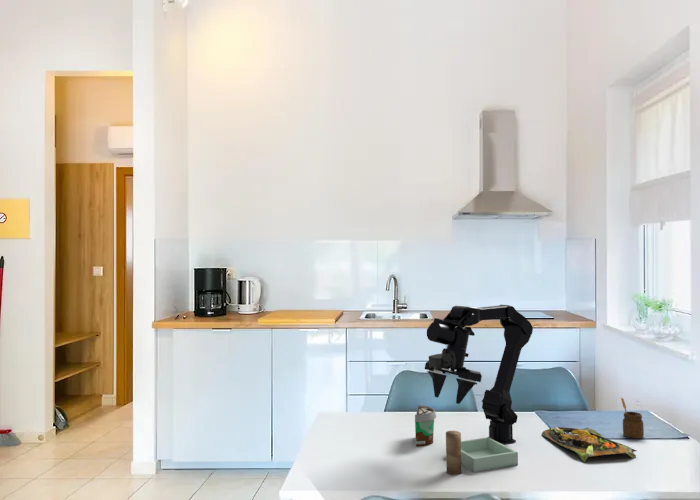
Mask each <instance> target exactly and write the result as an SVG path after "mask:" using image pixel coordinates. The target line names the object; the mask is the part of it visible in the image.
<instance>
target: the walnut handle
mask: <svg viewBox="0 0 700 500" xmlns="http://www.w3.org/2000/svg"><path fill="white" fill-rule="evenodd" d="M461 441H462V433H461V432H460V431H458V430H446V431H445V453H446V454H445V458H446V459H445V461H446V474H447V475H449V476H460V475H462V472H463V470H462V469H463V468H462V466H463V465H462V460H461Z"/></svg>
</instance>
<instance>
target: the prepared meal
mask: <svg viewBox="0 0 700 500" xmlns="http://www.w3.org/2000/svg"><path fill="white" fill-rule="evenodd" d="M565 432H566V433H567V434H566V433H565ZM569 432H571V433H572V434H570V433H569ZM574 434H578V435H574ZM541 436H542V437H545V438H547V439H549V440H550V441H552V442H553V443H555V444H557V445H559V446H561V447H563V448H565V449H567V450H569V451H573V452H575V453H576V454H577V456H578V457H579V458H580V459H581V460H582V462H583V463H586V461H587V459H588V458H589V457H591V458H592V457H598V456H604V455H605V456H606V455H607V456H608V455H619V454H625V453H626V454H627V455H628V456H629V457H630V458H631V459H634V458H637V455H636V453H635V452H638V450H636V449H635V448H632V447H630V446H629V445H626V444H623V443H620V442H617V441H614V440H611V439H609V438H606V437H604V436H603V435H602V434H601V433H600V432H598V431H596V430H595V429H592V428H589V427H585V428H582V429H579V428H573V427H560V426H557V427H556V426H554V427H552V428H549V429H546V430H543V431H542V433H541Z"/></svg>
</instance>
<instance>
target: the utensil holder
mask: <svg viewBox="0 0 700 500" xmlns="http://www.w3.org/2000/svg"><path fill="white" fill-rule="evenodd" d="M620 400H621V404H622V407H623V408H624V411H625V412H623V417H624V418H623V419H622V434H623V436H625V437H626V438H631V439H642V438H644V435H645V434H644V433H645V432H644V431H645V429H644V427H645V426H644V421H643V415H642V414H641V412H640V411H642V410H643V408H641V407H643V406H644V405H643V403H642V402H641V401H639V400H637V401H635V402H634V404H636V408H637V407H638V404H639V408H638V409H640V408H641V410H638V411H637V410H636V408H635V406H634V407H633V411H627V406H626V402H625V400H624V398H623V397H620Z"/></svg>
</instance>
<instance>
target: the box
mask: <svg viewBox="0 0 700 500" xmlns="http://www.w3.org/2000/svg"><path fill="white" fill-rule="evenodd" d="M518 453H519V452H518V451H517V450H514V449H512V448H510V447H508V446H507V445H505V444H501V443H499V442H497V441H495V440H493V439H491V438H489V436H487V437H481V438H475V439H469V440H468V439H467V440H461V460H462V466H464V467H466V468H467V469H469V470H470V471H471V472H473V473H478V472H482V471H484V472H485V471H489V470H496V469H501V468H506V467H513V466H519V456H518V455H519V454H518Z"/></svg>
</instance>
